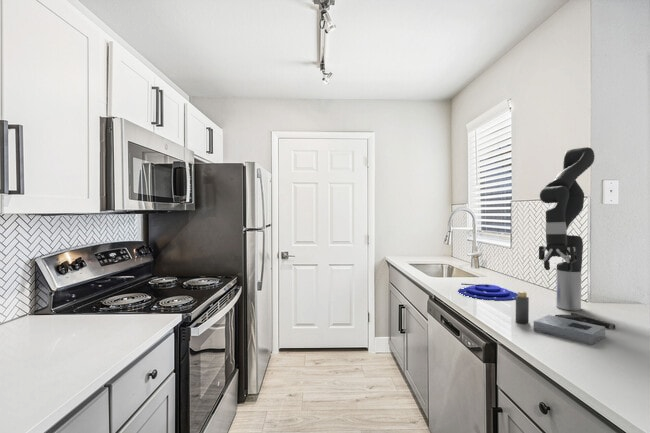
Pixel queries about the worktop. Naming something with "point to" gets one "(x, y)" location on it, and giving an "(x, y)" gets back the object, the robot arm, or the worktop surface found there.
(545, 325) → the housing
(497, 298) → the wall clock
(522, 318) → the plug
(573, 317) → the handgun
